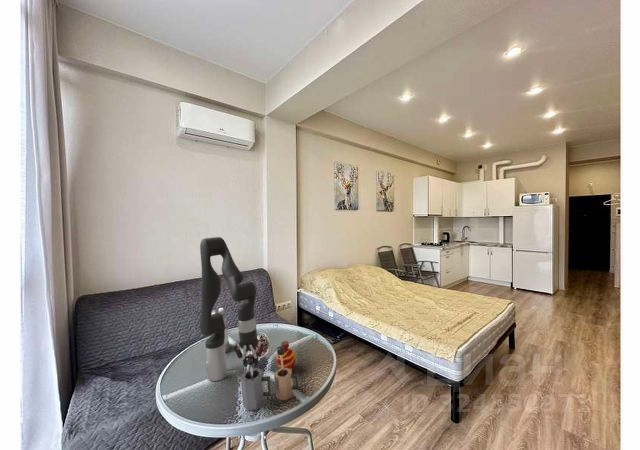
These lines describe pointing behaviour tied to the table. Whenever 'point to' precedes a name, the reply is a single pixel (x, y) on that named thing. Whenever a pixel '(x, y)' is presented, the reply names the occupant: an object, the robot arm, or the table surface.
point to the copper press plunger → (280, 352)
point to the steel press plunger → (250, 363)
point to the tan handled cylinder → (285, 384)
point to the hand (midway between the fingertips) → (251, 365)
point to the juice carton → (222, 312)
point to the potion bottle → (286, 357)
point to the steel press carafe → (254, 389)
